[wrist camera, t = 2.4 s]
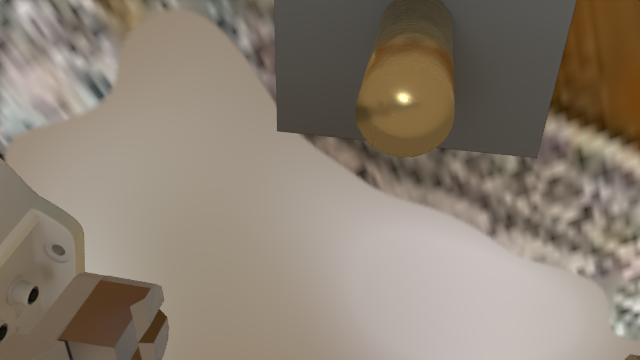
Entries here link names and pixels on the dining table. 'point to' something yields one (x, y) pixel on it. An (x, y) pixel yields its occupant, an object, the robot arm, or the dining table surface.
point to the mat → (469, 68)
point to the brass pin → (409, 80)
